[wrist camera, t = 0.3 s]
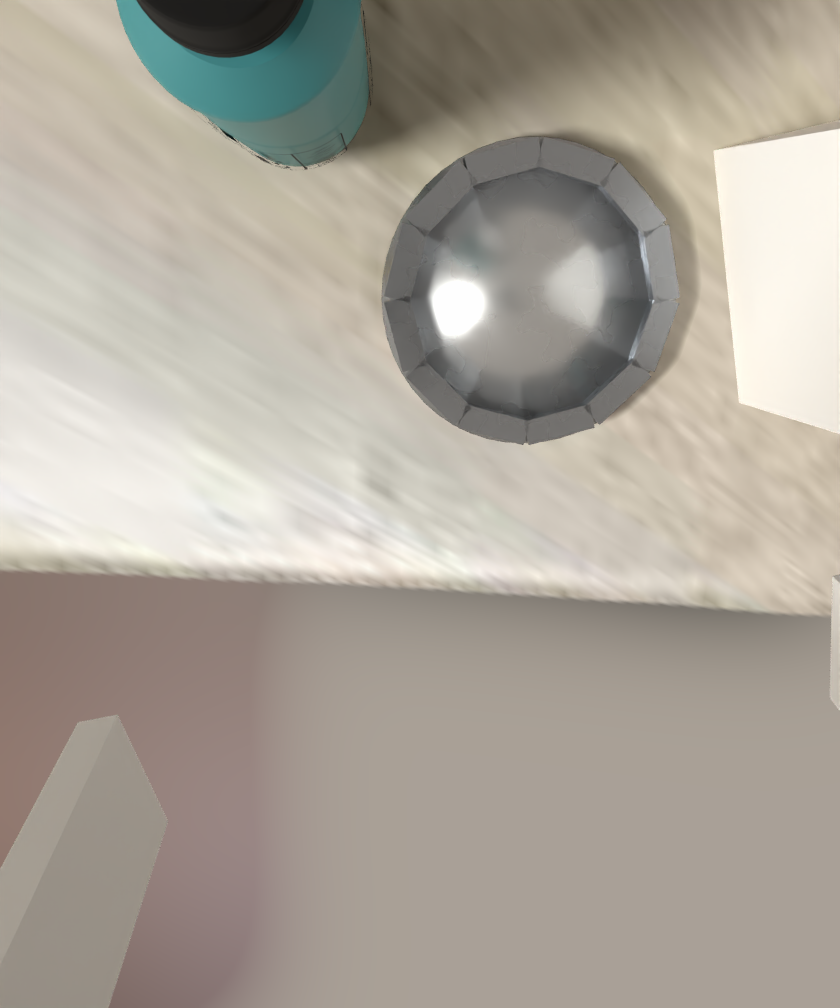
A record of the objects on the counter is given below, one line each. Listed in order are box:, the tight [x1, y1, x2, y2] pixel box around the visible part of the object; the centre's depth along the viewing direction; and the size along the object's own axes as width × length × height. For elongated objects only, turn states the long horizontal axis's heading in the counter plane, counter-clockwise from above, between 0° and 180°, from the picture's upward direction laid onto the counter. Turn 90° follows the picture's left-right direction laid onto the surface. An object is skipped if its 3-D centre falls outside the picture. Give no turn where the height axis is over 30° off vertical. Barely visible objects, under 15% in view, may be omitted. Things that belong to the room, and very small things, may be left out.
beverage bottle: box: [116, 0, 373, 170], centre depth 25 cm, size 6×7×20 cm
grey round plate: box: [382, 137, 680, 445], centre depth 37 cm, size 14×14×1 cm
